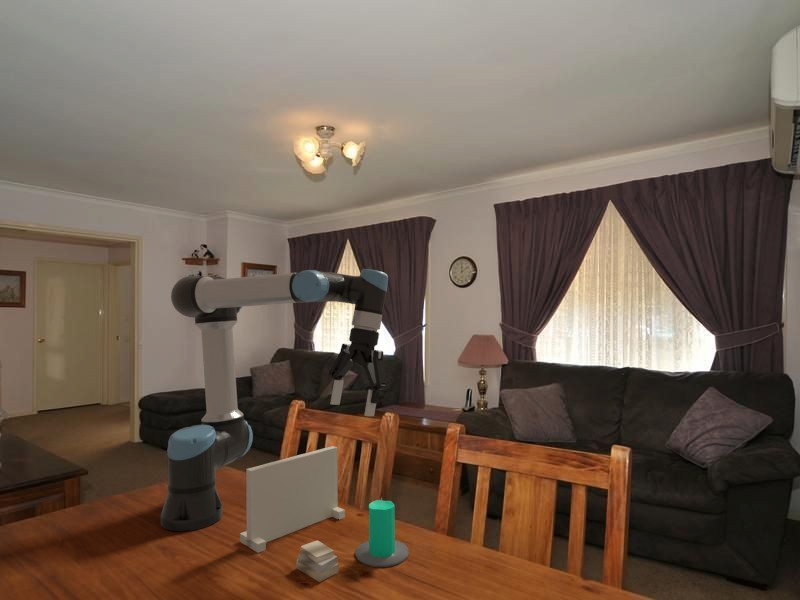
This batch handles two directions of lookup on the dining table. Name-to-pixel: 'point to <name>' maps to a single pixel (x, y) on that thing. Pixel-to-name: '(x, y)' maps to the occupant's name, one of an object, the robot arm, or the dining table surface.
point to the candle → (381, 528)
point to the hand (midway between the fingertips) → (351, 410)
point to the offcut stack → (317, 561)
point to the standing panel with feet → (290, 496)
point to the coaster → (388, 561)
